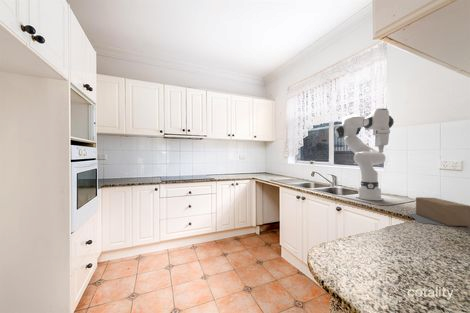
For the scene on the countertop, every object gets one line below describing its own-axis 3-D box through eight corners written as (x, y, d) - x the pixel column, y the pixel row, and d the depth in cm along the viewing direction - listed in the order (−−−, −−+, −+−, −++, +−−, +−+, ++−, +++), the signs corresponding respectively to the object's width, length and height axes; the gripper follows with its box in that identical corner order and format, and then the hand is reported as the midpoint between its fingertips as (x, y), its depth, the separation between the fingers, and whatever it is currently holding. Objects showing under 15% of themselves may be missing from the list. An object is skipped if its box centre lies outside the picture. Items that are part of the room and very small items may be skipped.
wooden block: (434, 214, 114) (471, 226, 94) (415, 214, 115) (448, 225, 95) (434, 197, 114) (471, 205, 94) (415, 197, 115) (447, 205, 95)
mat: (407, 213, 117) (407, 213, 117) (434, 216, 111) (434, 216, 111) (419, 222, 101) (419, 222, 101) (452, 226, 95) (452, 225, 95)
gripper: (372, 134, 142) (372, 153, 142) (378, 130, 124) (378, 152, 124) (383, 133, 139) (383, 153, 139) (390, 129, 121) (390, 152, 121)
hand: (381, 152), depth 131 cm, fingers closed
